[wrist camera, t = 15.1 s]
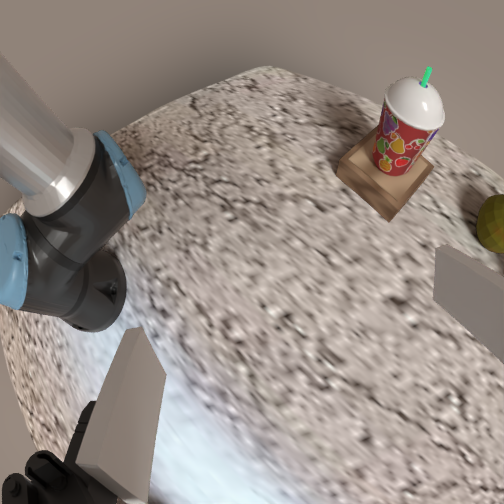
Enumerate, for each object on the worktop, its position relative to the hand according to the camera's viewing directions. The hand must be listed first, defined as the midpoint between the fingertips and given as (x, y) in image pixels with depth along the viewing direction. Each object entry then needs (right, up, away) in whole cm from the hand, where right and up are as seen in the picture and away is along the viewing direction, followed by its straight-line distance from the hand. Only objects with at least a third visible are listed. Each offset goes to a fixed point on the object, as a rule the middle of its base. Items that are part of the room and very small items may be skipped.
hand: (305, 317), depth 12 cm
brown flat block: (+21, +15, +35) cm, 44 cm away
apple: (+41, +6, +30) cm, 51 cm away
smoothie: (+20, +17, +30) cm, 40 cm away
